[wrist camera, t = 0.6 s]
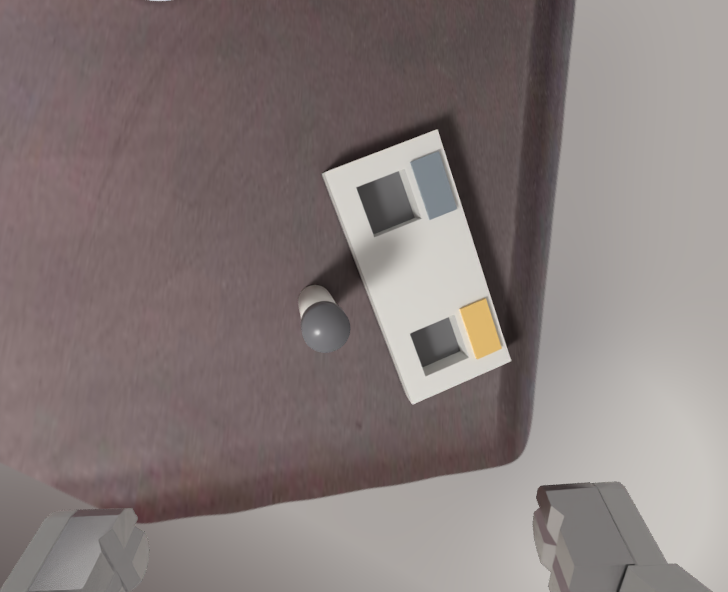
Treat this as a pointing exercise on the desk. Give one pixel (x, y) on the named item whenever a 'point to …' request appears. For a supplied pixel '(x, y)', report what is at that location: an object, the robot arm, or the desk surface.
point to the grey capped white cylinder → (322, 320)
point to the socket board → (418, 265)
